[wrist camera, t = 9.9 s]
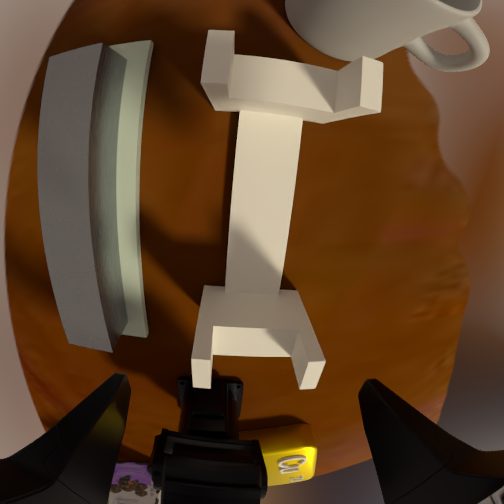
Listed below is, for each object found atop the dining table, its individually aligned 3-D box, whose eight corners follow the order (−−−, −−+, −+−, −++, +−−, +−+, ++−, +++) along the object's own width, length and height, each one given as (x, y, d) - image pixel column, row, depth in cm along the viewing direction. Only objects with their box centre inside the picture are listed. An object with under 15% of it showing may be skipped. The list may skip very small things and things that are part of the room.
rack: (291, 318, 22) (314, 391, 15) (203, 314, 21) (193, 390, 14) (325, 87, 16) (383, 57, 8) (219, 73, 15) (209, 24, 7)
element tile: (195, 431, 29) (193, 461, 24) (311, 417, 29) (319, 447, 25) (221, 469, 35) (221, 492, 30) (309, 458, 35) (314, 481, 30)
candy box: (162, 461, 32) (153, 543, 17) (182, 473, 35) (177, 548, 19) (107, 460, 34) (92, 527, 18) (126, 472, 36) (116, 535, 21)
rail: (128, 321, 20) (112, 352, 17) (88, 314, 20) (68, 343, 16) (127, 59, 13) (102, 42, 9) (79, 68, 13) (49, 57, 9)
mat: (148, 332, 22) (146, 337, 21) (81, 321, 21) (78, 326, 20) (153, 43, 13) (150, 39, 13) (72, 58, 13) (67, 55, 12)
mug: (261, 21, 13) (290, -79, 3) (315, -36, 11) (362, -113, 1) (397, 113, 16) (512, 110, 6) (431, 48, 14) (524, 26, 4)
